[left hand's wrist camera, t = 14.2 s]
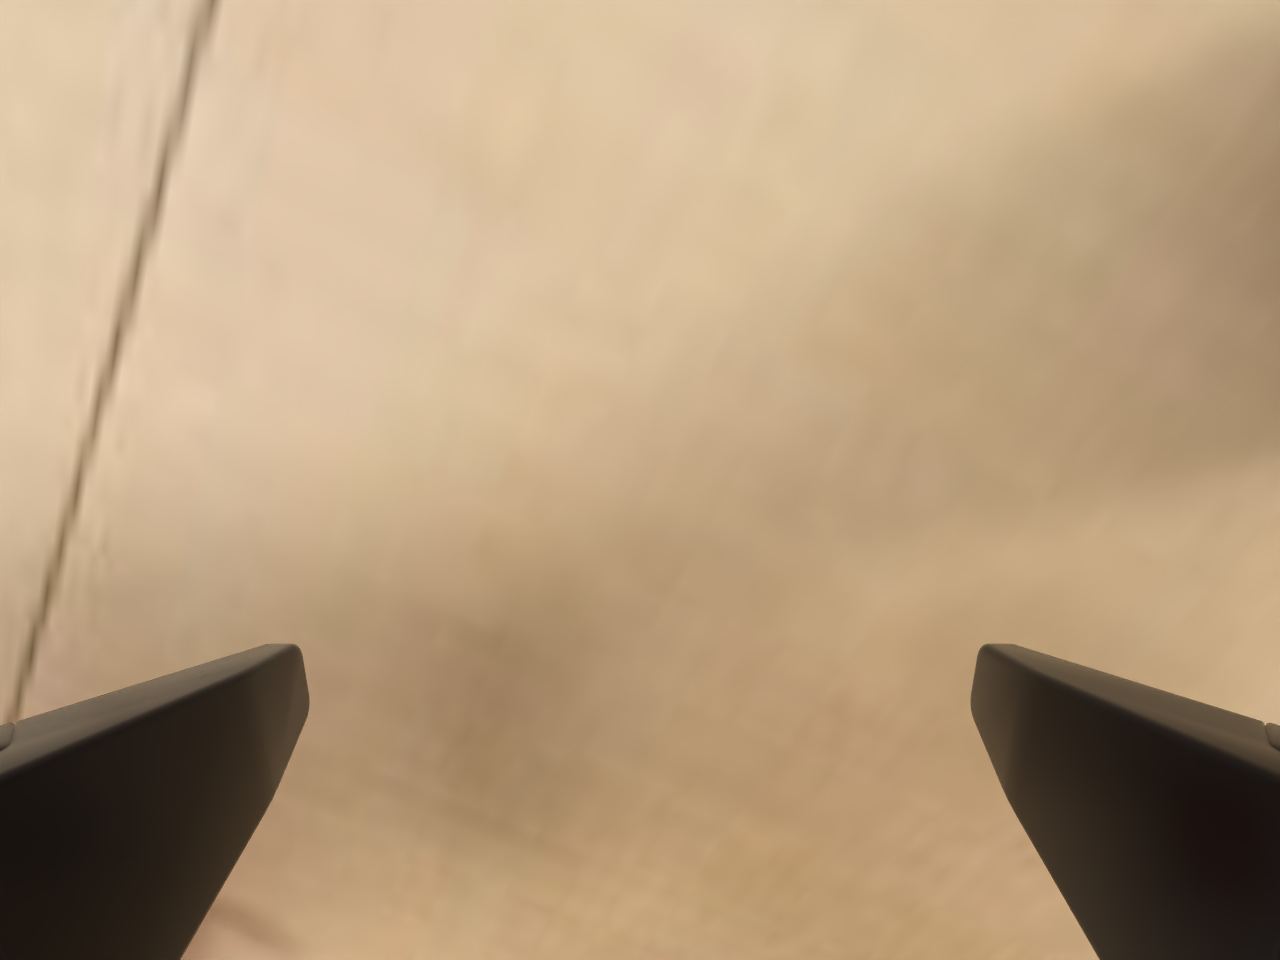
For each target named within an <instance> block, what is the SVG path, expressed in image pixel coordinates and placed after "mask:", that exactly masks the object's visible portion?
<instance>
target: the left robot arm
mask: <svg viewBox="0 0 1280 960" xmlns="http://www.w3.org/2000/svg"><path fill="white" fill-rule="evenodd" d="M308 711H309V693H308V687H307V680H306V674H305V668H304V662H303V656H302V653H301V650H300V648H299V647H298V646H297V645H295V644H266V645H263V646H259V647H256V648H253V649H250V650H247V651H243V652H240V653H237V654H234V655H230V656H227V657H224V658H221V659H218V660H214V661H211V662H208V663H205V664H201V665H198V666H195V667H192V668H188V669H185V670H182V671H179V672H176V673H172V674H169V675H166V676H163V677H159V678H156V679H153V680H150V681H147V682H143V683H140V684H137V685H134V686H130V687H127V688H124V689H121V690H117V691H114V692H111V693H108V694H105V695H101V696H98V697H95V698H92V699H88V700H85V701H82V702H79V703H76V704H72V705H69V706H66V707H63V708H59V709H56V710H53V711H50V712H46V713H43V714H40V715H37V716H34V717H30V718H27V719H24V720H21V721H18V722H17V723H16V725H15V726H14V724H13V723H7V724H4V725H1V726H0V960H180V959H181V957H182V956H183V954H184V952H185V951H186V949H187V947H188V945H189V944H190V942H191V940H192V938H193V937H194V935H195V933H196V932H197V930H198V928H199V926H200V925H201V923H202V921H203V919H204V918H205V916H206V914H207V912H208V911H209V909H210V907H211V906H212V904H213V902H214V900H215V899H216V897H217V895H218V893H219V892H220V890H221V888H222V886H223V885H224V883H225V881H226V880H227V878H228V876H229V874H230V873H231V871H232V869H233V867H234V866H235V864H236V862H237V860H238V859H239V857H240V855H241V854H242V852H243V850H244V848H245V847H246V845H247V843H248V841H249V840H250V838H251V836H252V835H253V833H254V831H255V829H256V828H257V826H258V824H259V822H260V821H261V819H262V817H263V815H264V814H265V812H266V810H267V808H268V806H269V804H270V803H271V801H272V799H273V797H274V794H275V792H276V790H277V788H278V786H279V783H280V781H281V779H282V776H283V774H284V771H285V769H286V767H287V764H288V762H289V759H290V757H291V755H292V752H293V750H294V747H295V745H296V743H297V740H298V738H299V735H300V733H301V731H302V728H303V726H304V723H305V721H306V718H307V715H308ZM971 711H972V715H973V718H974V721H975V723H976V726H977V728H978V731H979V733H980V735H981V738H982V740H983V743H984V745H985V747H986V750H987V752H988V755H989V757H990V759H991V762H992V764H993V767H994V769H995V771H996V774H997V776H998V779H999V781H1000V783H1001V786H1002V788H1003V790H1004V792H1005V794H1006V797H1007V799H1008V801H1009V803H1010V804H1011V806H1012V808H1013V810H1014V812H1015V814H1016V815H1017V817H1018V819H1019V821H1020V822H1021V824H1022V826H1023V828H1024V829H1025V831H1026V833H1027V835H1028V836H1029V838H1030V840H1031V841H1032V843H1033V845H1034V847H1035V848H1036V850H1037V852H1038V854H1039V855H1040V857H1041V859H1042V861H1043V862H1044V864H1045V866H1046V867H1047V869H1048V871H1049V873H1050V874H1051V876H1052V878H1053V880H1054V881H1055V883H1056V885H1057V886H1058V888H1059V890H1060V892H1061V893H1062V895H1063V897H1064V899H1065V900H1066V902H1067V904H1068V906H1069V907H1070V909H1071V911H1072V912H1073V914H1074V916H1075V918H1076V919H1077V921H1078V923H1079V925H1080V926H1081V928H1082V930H1083V932H1084V933H1085V935H1086V937H1087V938H1088V940H1089V942H1090V944H1091V945H1092V947H1093V949H1094V951H1095V952H1096V954H1097V956H1098V958H1099V959H1100V960H1280V726H1279V725H1276V724H1273V723H1267V724H1266V726H1265V725H1264V723H1263V722H1262V721H1259V720H1256V719H1253V718H1250V717H1246V716H1243V715H1240V714H1237V713H1234V712H1230V711H1227V710H1224V709H1221V708H1217V707H1214V706H1211V705H1208V704H1204V703H1201V702H1198V701H1195V700H1192V699H1188V698H1185V697H1182V696H1179V695H1175V694H1172V693H1169V692H1166V691H1163V690H1159V689H1156V688H1153V687H1150V686H1146V685H1143V684H1140V683H1137V682H1133V681H1130V680H1127V679H1124V678H1121V677H1117V676H1114V675H1111V674H1108V673H1104V672H1101V671H1098V670H1095V669H1092V668H1088V667H1085V666H1082V665H1079V664H1075V663H1072V662H1069V661H1066V660H1062V659H1059V658H1056V657H1053V656H1050V655H1046V654H1043V653H1040V652H1037V651H1033V650H1030V649H1027V648H1024V647H1020V646H1017V645H1014V644H985V645H983V646H982V647H981V648H980V650H979V653H978V656H977V662H976V668H975V674H974V680H973V687H972V693H971Z"/></svg>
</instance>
